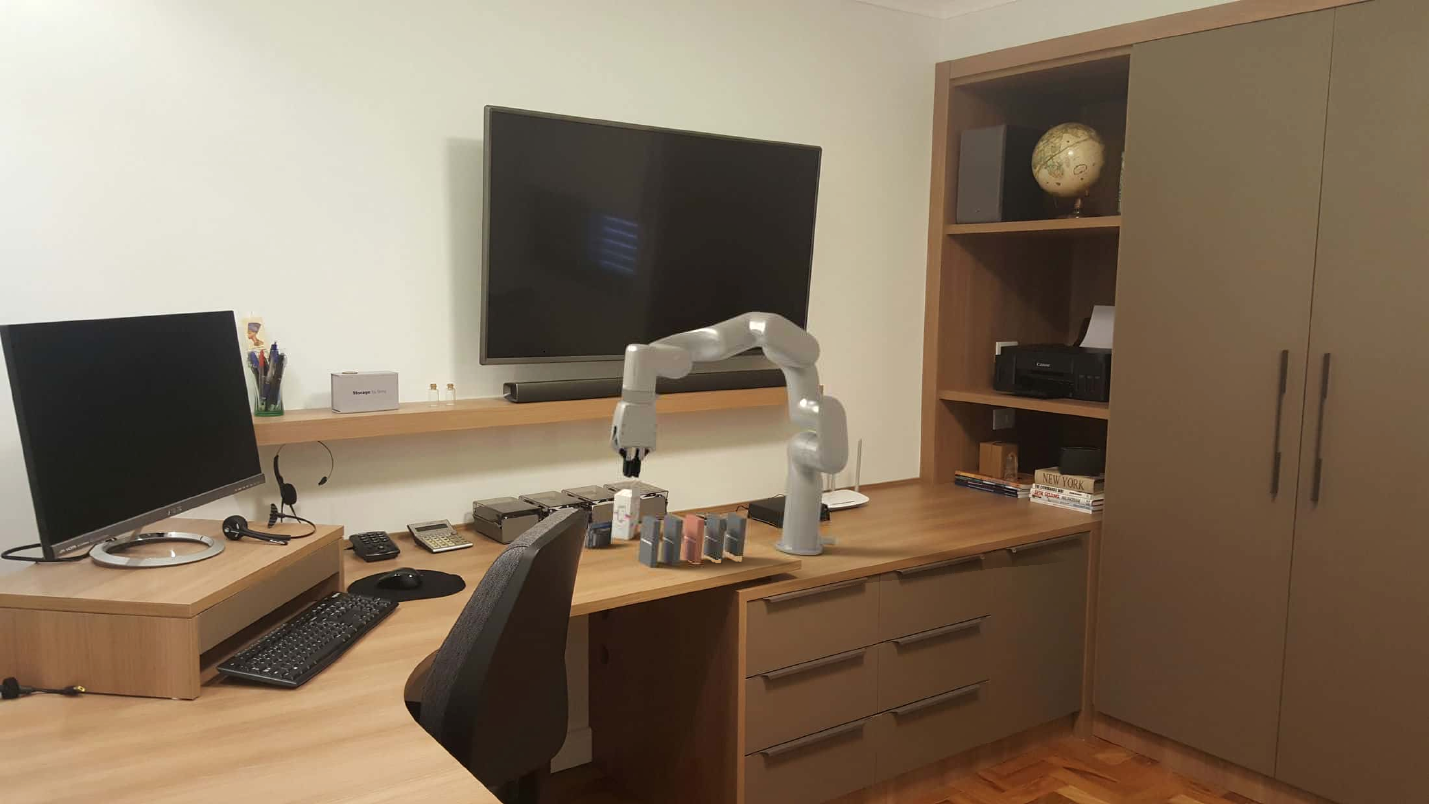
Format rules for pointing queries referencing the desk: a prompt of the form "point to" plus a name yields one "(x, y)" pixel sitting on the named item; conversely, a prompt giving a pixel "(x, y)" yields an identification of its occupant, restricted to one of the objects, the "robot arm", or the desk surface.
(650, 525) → the domino
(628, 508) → the ink cartridge box
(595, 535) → the mini dv tape
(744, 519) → the domino
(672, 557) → the domino
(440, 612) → the desk surface
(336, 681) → the desk surface
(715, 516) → the domino
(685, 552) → the domino
